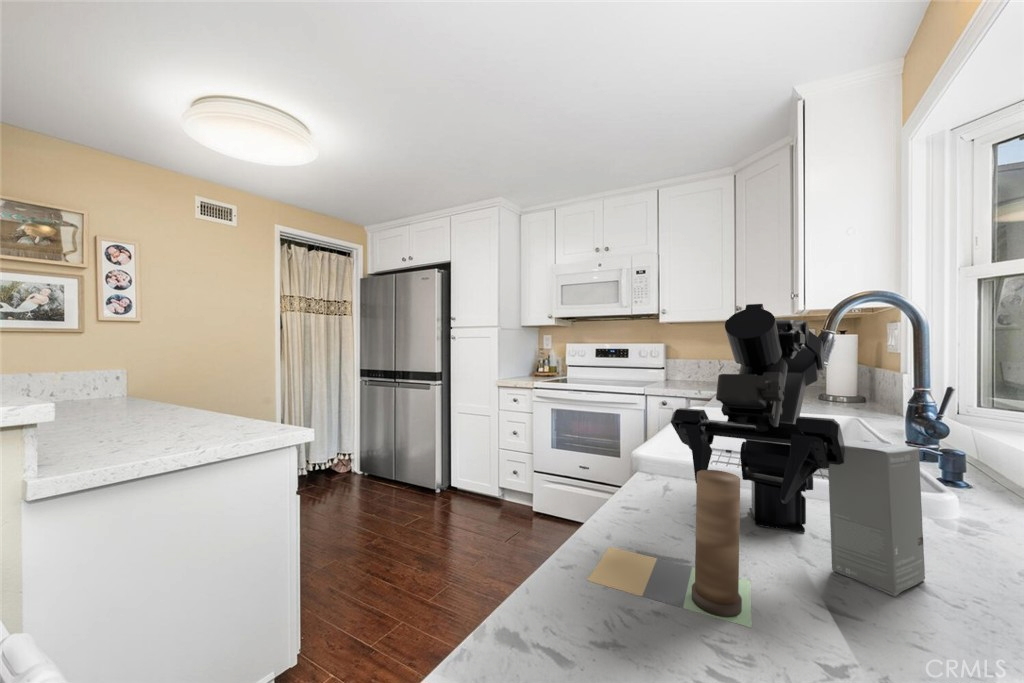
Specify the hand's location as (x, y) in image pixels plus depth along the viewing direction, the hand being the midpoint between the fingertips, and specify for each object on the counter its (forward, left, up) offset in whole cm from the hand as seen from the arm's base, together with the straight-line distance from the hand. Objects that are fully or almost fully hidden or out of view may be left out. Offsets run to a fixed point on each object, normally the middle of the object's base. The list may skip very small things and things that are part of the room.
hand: (738, 492), depth 50 cm
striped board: (-8, -6, -10) cm, 14 cm away
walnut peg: (-3, -8, -9) cm, 13 cm away
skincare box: (+16, +8, -10) cm, 20 cm away
